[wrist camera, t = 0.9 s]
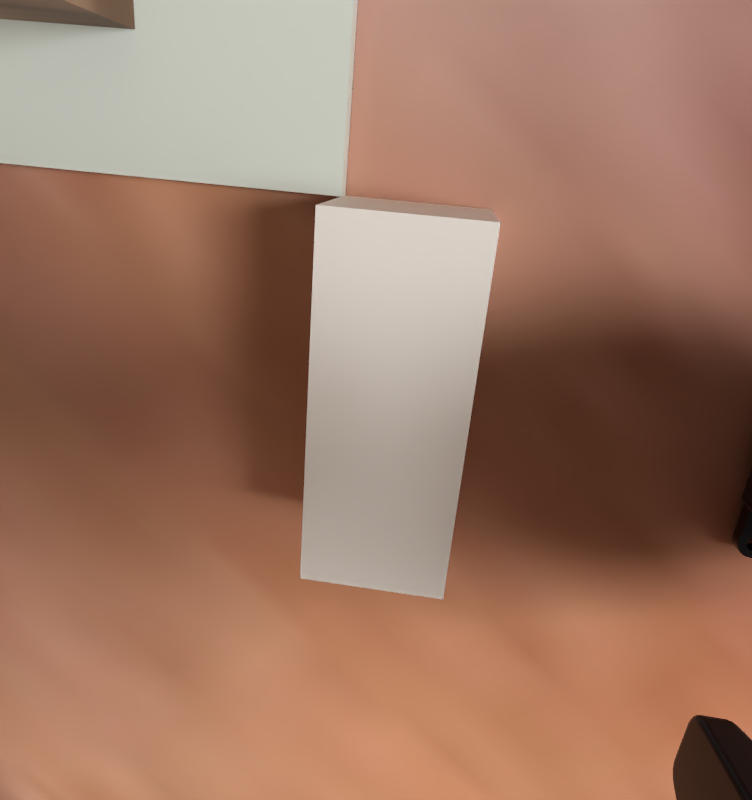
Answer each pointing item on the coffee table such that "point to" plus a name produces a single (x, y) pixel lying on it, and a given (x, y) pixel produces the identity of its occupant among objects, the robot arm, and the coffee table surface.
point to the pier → (72, 12)
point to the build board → (187, 93)
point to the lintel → (391, 387)
